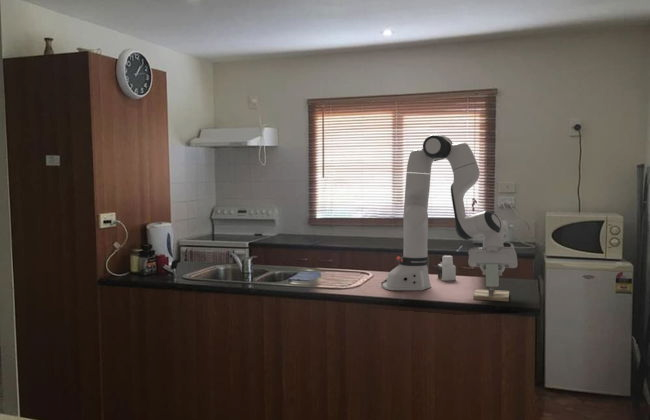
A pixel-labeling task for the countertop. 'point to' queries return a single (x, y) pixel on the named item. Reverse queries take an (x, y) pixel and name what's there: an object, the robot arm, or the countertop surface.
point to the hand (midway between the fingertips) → (492, 274)
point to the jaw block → (492, 275)
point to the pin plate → (494, 298)
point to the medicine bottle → (446, 268)
